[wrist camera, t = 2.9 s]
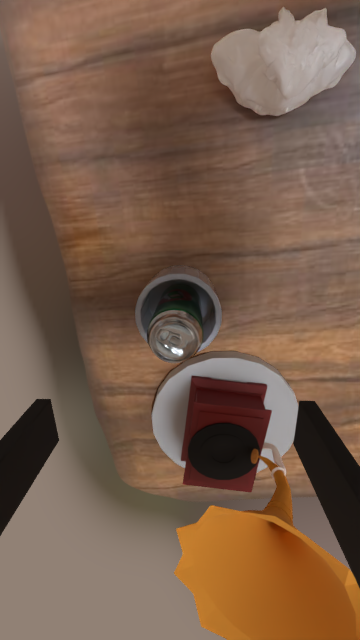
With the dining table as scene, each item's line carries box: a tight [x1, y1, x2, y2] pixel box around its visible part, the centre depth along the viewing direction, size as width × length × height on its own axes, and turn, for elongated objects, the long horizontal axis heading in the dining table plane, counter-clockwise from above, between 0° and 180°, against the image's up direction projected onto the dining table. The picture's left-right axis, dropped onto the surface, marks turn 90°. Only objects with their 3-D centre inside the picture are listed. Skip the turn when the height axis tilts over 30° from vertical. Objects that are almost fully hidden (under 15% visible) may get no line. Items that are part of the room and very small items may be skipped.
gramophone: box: [152, 351, 360, 640], centre depth 29 cm, size 20×20×25 cm
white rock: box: [211, 7, 356, 116], centre depth 23 cm, size 12×8×11 cm
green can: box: [147, 284, 203, 363], centre depth 29 cm, size 5×5×12 cm
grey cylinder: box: [135, 265, 222, 352], centre depth 32 cm, size 9×9×6 cm
